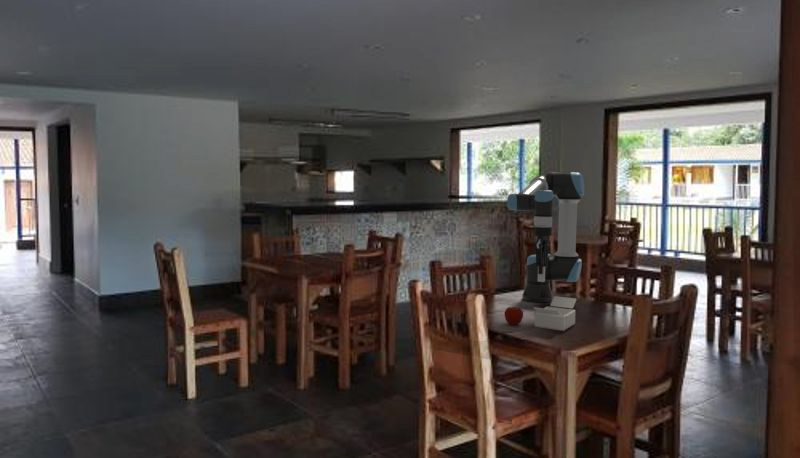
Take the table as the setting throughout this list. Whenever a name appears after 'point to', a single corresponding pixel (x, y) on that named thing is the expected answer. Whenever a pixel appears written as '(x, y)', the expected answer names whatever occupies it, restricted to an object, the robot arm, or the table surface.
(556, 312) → the flap
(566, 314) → the carton
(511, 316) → the apple
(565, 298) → the flap
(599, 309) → the table surface
